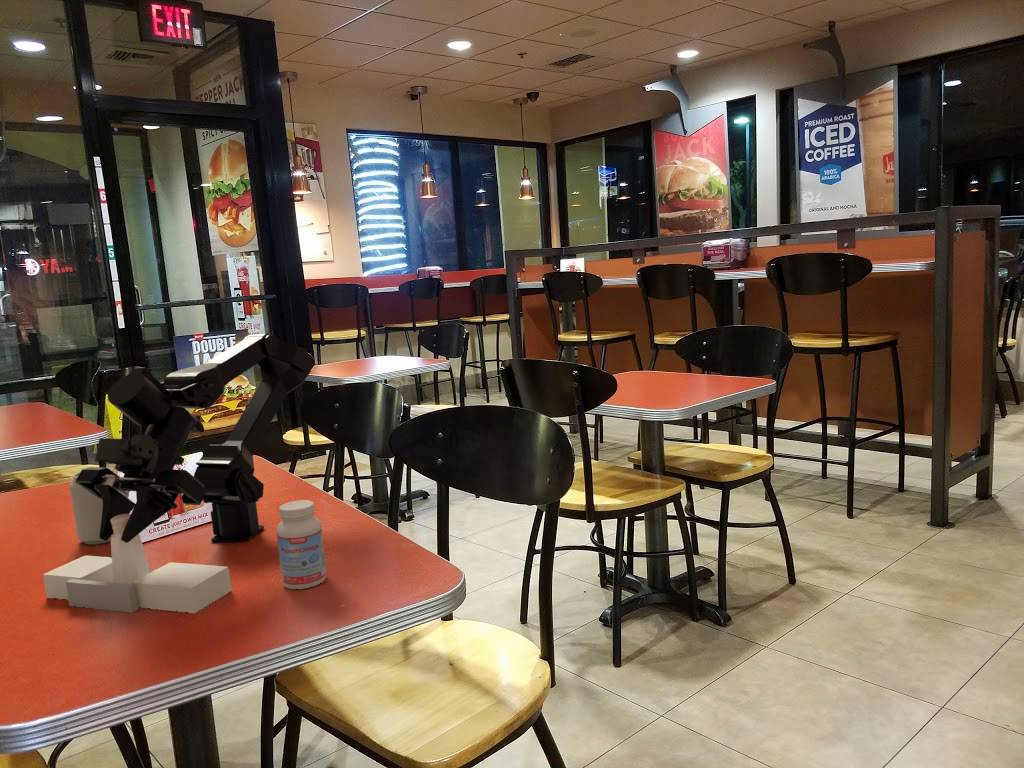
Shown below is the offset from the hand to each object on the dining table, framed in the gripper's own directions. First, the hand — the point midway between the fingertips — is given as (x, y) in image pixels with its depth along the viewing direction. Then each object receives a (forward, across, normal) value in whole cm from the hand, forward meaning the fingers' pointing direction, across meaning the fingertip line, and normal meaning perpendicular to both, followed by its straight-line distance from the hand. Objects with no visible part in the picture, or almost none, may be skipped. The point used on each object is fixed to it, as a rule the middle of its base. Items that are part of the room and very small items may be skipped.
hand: (113, 540), depth 104 cm
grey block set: (+5, +2, +6) cm, 8 cm away
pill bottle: (-1, +23, +13) cm, 27 cm away
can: (-8, -24, +20) cm, 32 cm away
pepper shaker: (+4, 0, +8) cm, 9 cm away
